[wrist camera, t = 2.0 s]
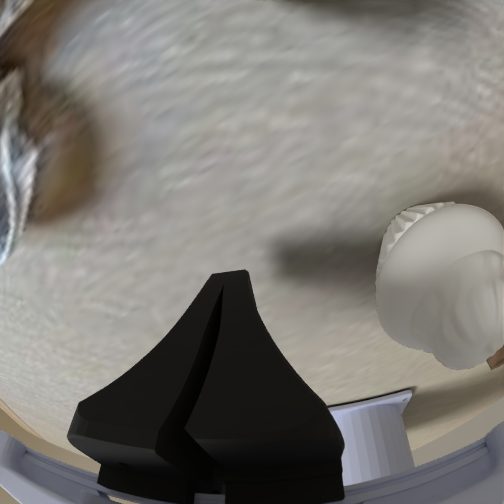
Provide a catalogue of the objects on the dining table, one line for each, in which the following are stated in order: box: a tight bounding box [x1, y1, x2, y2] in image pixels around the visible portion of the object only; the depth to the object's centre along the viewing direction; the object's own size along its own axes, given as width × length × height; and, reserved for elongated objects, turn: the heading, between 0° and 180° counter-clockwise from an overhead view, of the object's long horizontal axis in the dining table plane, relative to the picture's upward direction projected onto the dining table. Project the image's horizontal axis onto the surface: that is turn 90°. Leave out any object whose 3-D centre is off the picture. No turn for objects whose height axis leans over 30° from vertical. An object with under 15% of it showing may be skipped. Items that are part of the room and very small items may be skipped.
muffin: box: [375, 202, 504, 370], centre depth 9 cm, size 6×6×7 cm
